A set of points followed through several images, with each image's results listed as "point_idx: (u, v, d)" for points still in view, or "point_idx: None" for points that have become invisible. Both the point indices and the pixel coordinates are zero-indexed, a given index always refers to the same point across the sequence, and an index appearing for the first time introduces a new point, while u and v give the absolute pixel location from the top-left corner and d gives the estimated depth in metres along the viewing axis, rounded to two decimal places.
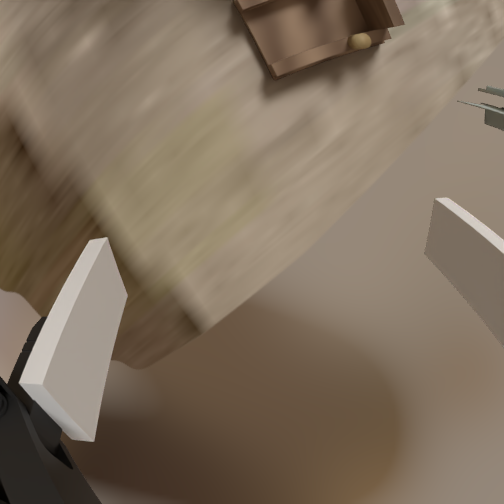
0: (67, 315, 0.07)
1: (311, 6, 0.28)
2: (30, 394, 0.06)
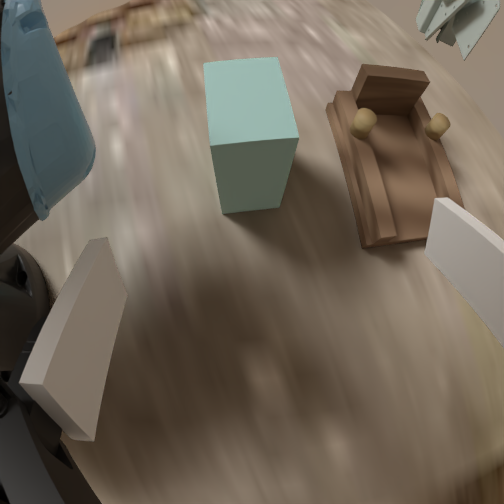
0: (67, 315, 0.07)
1: (384, 161, 0.28)
2: (30, 394, 0.06)
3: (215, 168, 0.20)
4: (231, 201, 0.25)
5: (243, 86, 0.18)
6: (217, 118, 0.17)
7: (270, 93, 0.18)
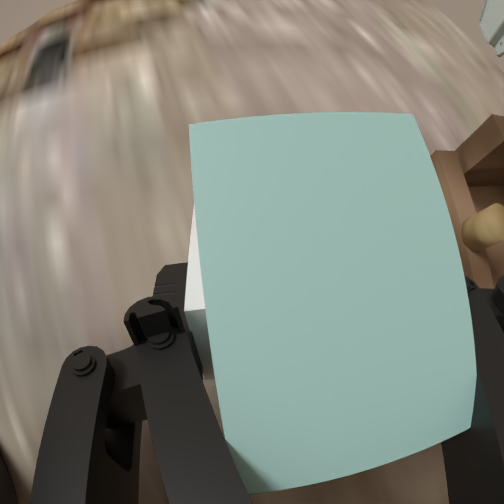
0: None
1: (490, 274, 0.15)
2: (189, 324, 0.07)
3: None
4: None
5: (338, 237, 0.05)
6: (253, 397, 0.05)
7: (422, 269, 0.05)
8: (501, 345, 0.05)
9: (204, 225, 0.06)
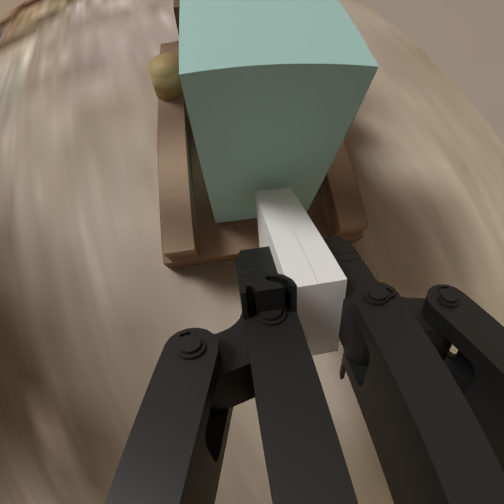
0: (295, 238, 0.10)
1: None
2: None
3: (196, 135, 0.09)
4: (230, 202, 0.15)
5: None
6: (200, 28, 0.07)
7: None
8: (431, 360, 0.05)
9: None
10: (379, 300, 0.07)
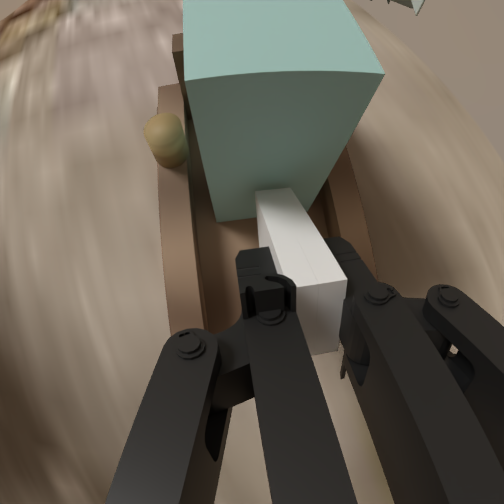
0: (295, 238, 0.10)
1: None
2: None
3: (200, 139, 0.09)
4: (232, 203, 0.15)
5: None
6: (204, 31, 0.07)
7: None
8: (431, 359, 0.05)
9: None
10: (380, 300, 0.07)
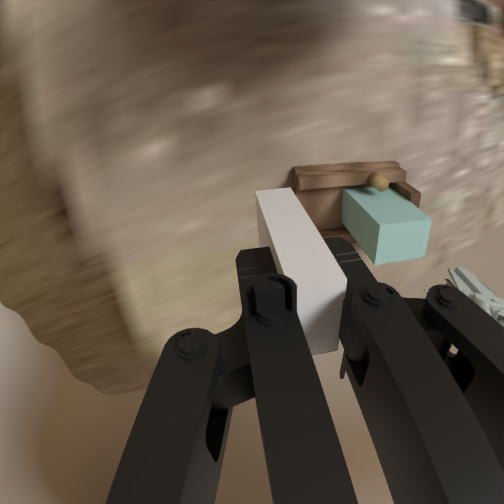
0: (295, 238, 0.10)
1: None
2: None
3: (369, 214, 0.34)
4: (349, 201, 0.39)
5: (410, 240, 0.33)
6: (394, 228, 0.32)
7: (402, 253, 0.34)
8: (431, 360, 0.05)
9: (416, 222, 0.32)
10: (379, 300, 0.07)
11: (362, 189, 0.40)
